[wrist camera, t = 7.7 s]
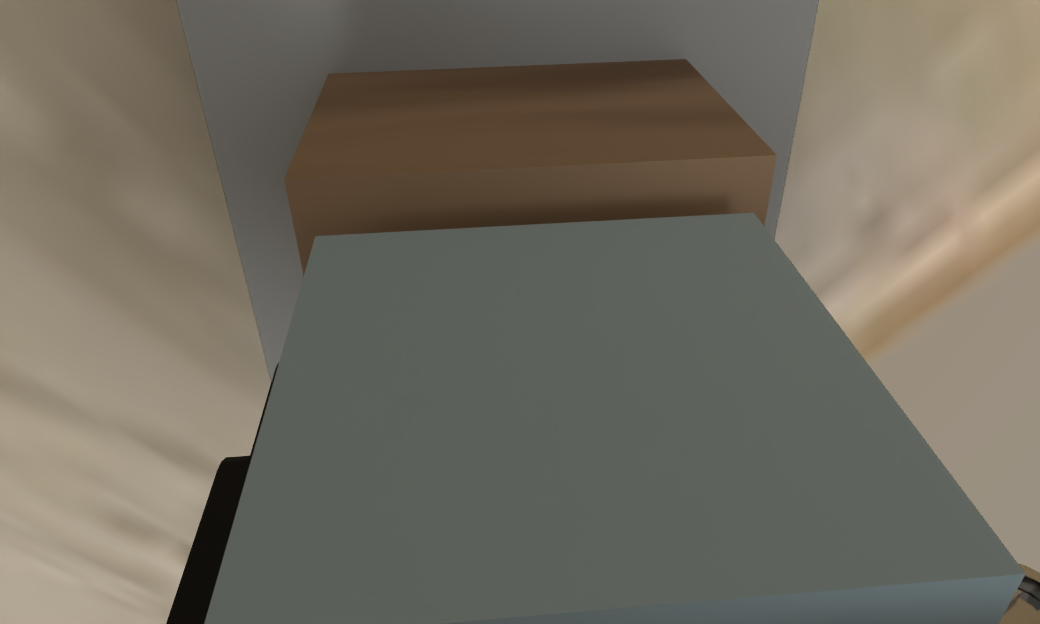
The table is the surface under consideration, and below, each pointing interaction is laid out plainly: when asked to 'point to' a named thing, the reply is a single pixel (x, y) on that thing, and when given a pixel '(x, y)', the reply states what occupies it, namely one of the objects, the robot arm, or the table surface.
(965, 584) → the cube
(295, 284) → the slate base
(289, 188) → the walnut block
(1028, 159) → the table surface
